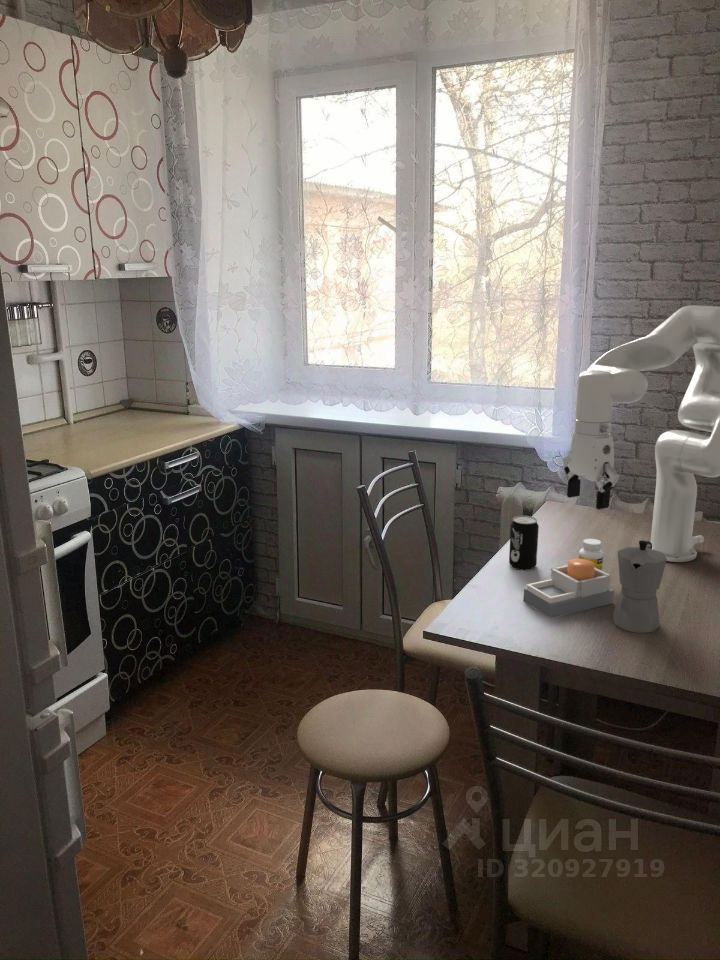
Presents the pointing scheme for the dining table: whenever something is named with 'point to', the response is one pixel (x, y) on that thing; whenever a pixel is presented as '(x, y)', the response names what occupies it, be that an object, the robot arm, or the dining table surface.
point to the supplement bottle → (592, 552)
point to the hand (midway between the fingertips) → (587, 502)
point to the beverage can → (523, 542)
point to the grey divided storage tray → (568, 593)
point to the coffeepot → (639, 588)
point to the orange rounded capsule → (580, 569)
